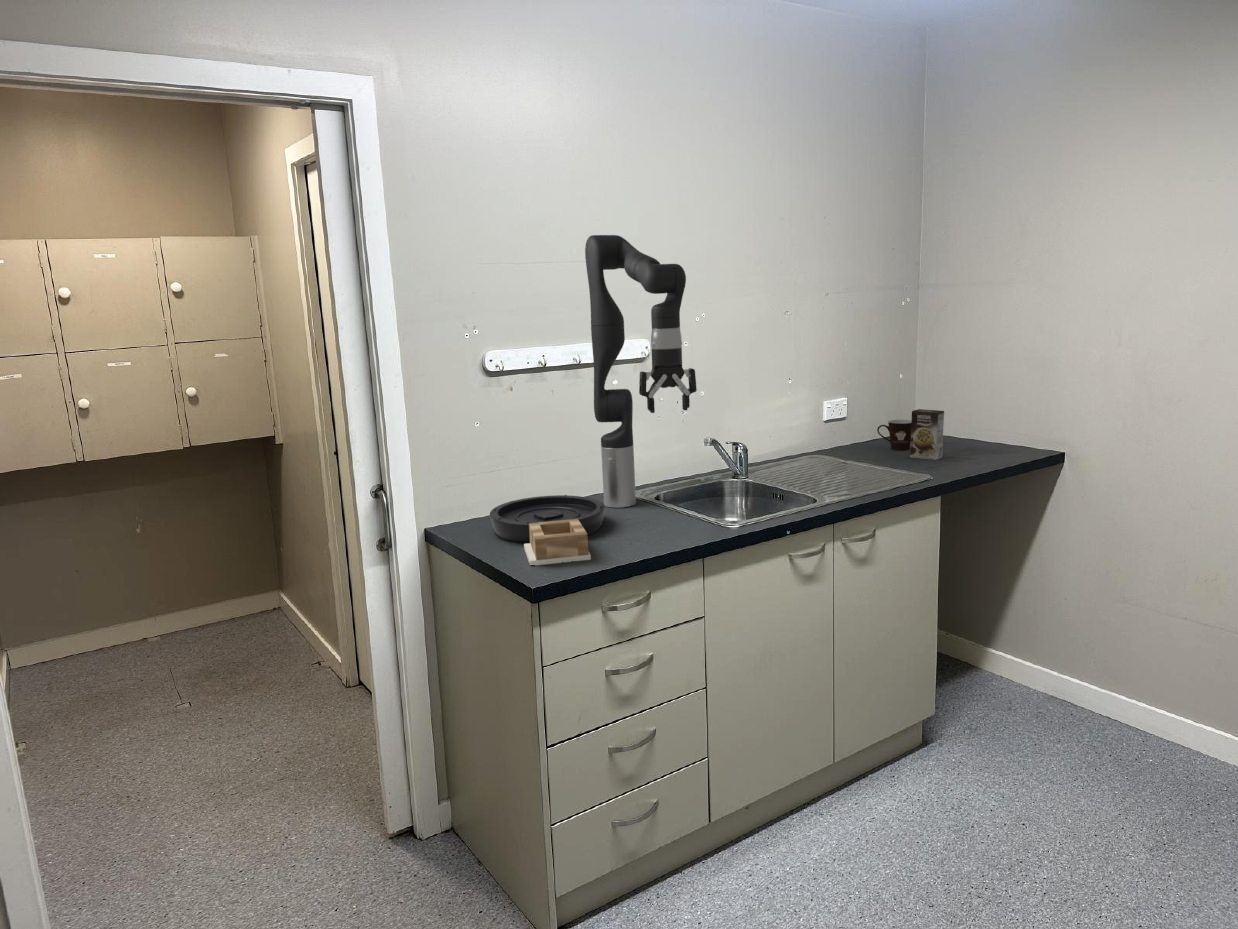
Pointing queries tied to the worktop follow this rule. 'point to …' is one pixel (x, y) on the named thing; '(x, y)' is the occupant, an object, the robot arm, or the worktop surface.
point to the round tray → (544, 514)
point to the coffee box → (927, 434)
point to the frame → (558, 539)
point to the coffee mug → (898, 434)
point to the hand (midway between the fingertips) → (668, 411)
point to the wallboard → (533, 560)
